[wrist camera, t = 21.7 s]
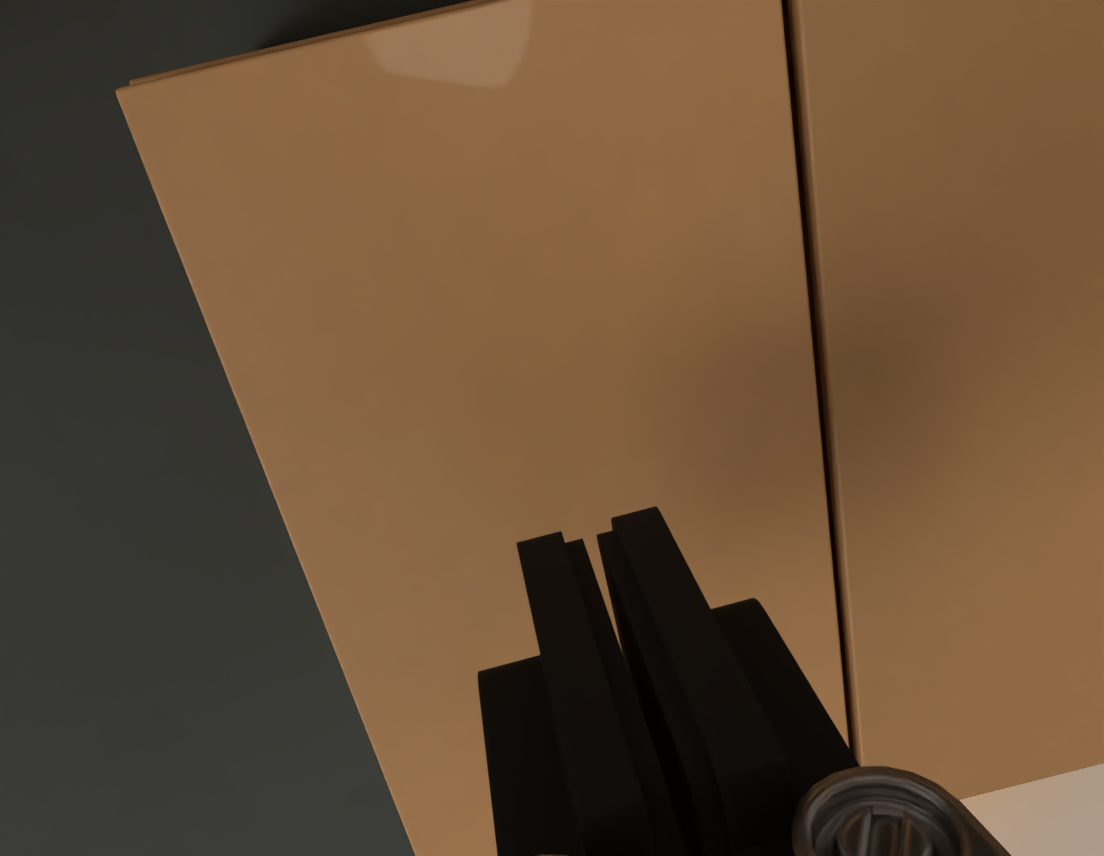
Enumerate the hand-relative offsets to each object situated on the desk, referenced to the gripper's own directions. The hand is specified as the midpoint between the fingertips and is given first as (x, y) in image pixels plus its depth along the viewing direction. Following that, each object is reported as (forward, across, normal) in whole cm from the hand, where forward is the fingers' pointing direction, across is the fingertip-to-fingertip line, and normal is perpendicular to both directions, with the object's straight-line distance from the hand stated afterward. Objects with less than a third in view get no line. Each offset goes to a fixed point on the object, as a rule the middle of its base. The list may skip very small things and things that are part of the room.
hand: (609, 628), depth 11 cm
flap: (+2, 0, 0) cm, 2 cm away
